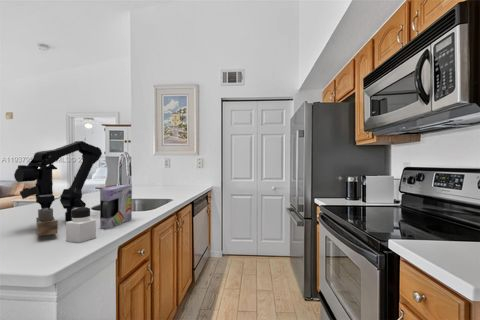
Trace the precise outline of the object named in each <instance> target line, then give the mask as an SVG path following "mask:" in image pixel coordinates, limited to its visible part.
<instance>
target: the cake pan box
mask: <svg viewBox="0 0 480 320" xmlns="http://www.w3.org/2000/svg"><path fill="white" fill-rule="evenodd" d="M132 191H133V185H132V184H121V185H113V186H109V187H105V188H104V187H103V188H100V190H99V199H100V200H99V205H100V206H99V207H100V208H99V216H100V217H99V226H100V227H99V228H100V229H103V230H109V229H110V230H111V229H113V228H115V227H117V226H119V225H122V224H124V223H126V222H128V221H130V220H132V218H133V217H132V213H133V211H132V207H133V204H132V202H133V201H132V200H133V197H132V195H133V192H132Z"/></svg>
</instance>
